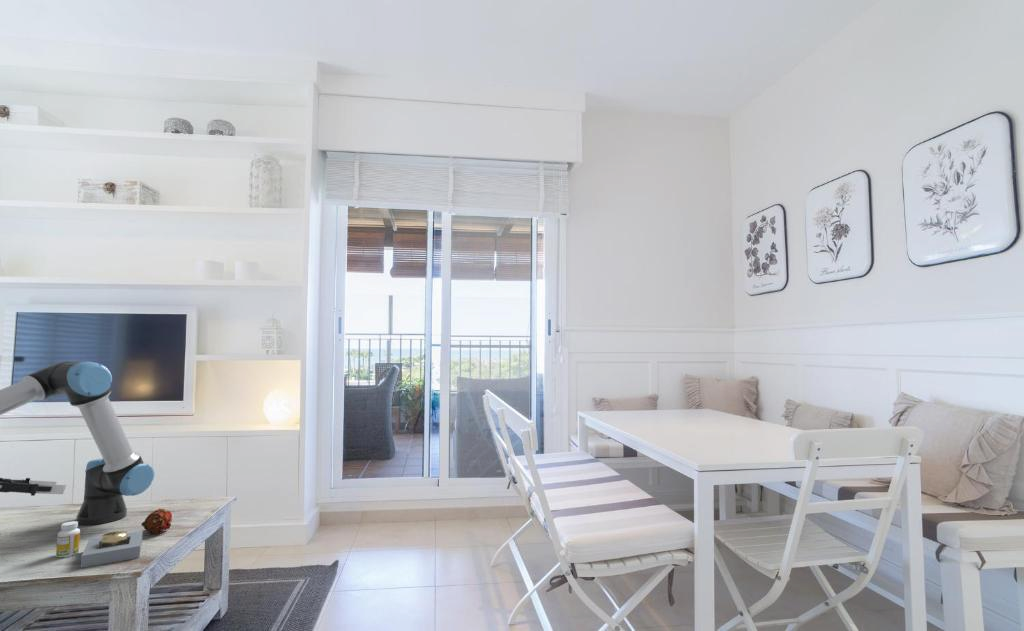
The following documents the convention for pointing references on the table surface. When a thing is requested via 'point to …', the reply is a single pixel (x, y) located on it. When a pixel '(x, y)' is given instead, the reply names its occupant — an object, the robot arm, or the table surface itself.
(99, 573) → the table surface
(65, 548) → the supplement bottle
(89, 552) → the socket plate
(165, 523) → the dragon fruit
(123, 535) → the plunger disc
